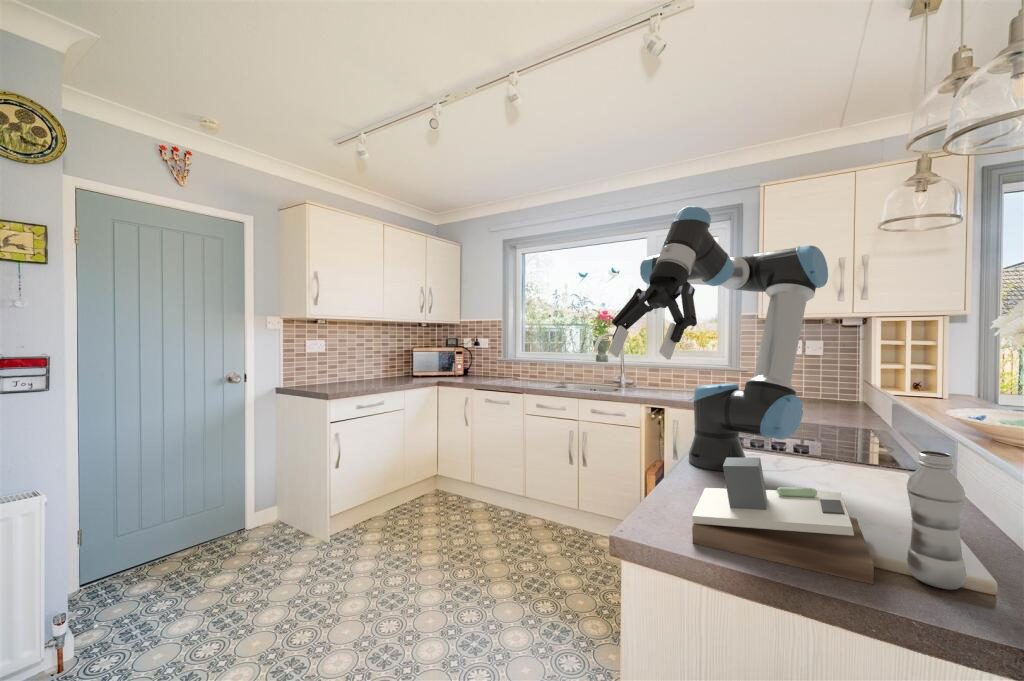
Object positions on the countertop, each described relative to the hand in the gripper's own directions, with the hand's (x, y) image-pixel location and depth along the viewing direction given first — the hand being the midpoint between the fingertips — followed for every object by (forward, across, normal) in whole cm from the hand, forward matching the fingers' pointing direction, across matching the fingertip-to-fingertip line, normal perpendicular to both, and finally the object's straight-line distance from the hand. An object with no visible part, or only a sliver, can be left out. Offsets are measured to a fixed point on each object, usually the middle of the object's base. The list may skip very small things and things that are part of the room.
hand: (637, 355), depth 87 cm
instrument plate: (+17, +17, +29) cm, 38 cm away
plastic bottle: (+18, +38, +37) cm, 57 cm away
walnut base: (+21, +18, +32) cm, 42 cm away
